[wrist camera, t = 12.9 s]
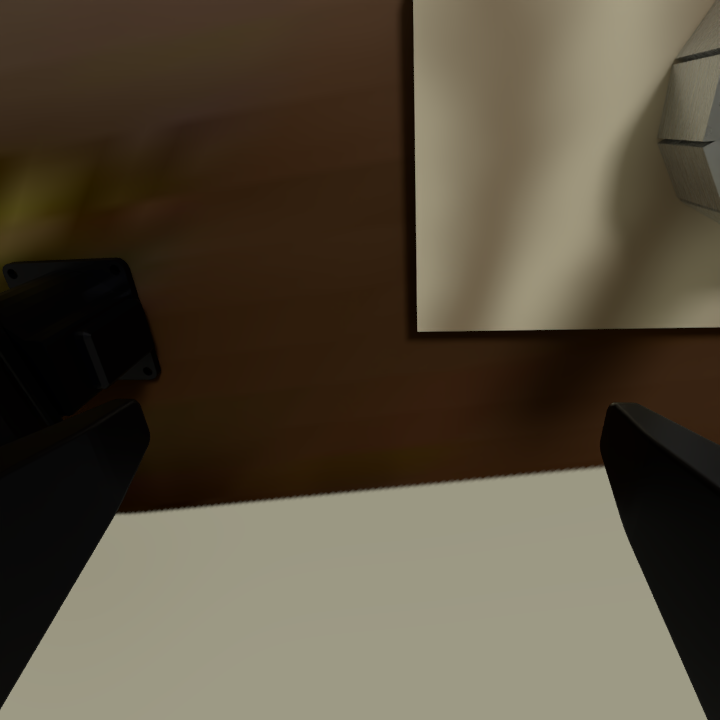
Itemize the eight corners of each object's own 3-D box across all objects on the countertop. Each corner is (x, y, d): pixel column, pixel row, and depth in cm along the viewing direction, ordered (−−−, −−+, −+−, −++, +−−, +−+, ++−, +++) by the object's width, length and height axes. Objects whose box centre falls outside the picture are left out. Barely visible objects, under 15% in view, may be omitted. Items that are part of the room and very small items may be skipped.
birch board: (417, 323, 22) (417, 331, 21) (413, -25, 16) (412, -34, 15) (847, 315, 19) (868, 324, 18) (1038, -102, 13) (1082, -118, 12)
